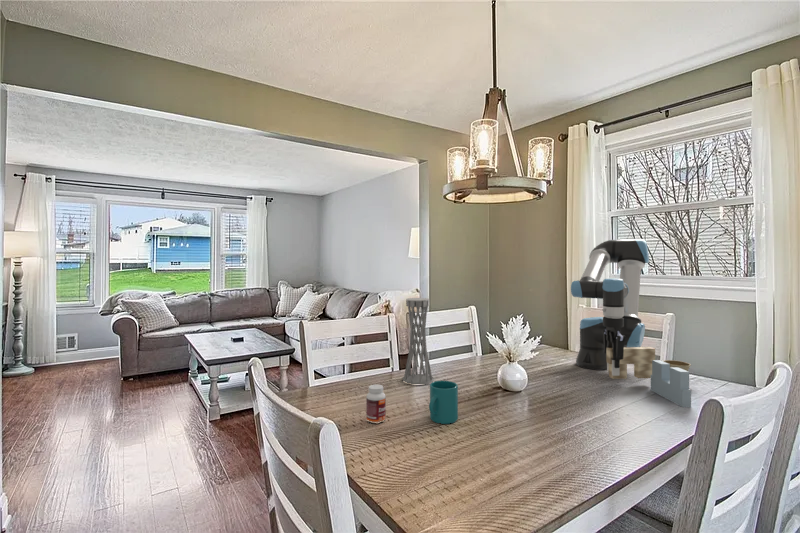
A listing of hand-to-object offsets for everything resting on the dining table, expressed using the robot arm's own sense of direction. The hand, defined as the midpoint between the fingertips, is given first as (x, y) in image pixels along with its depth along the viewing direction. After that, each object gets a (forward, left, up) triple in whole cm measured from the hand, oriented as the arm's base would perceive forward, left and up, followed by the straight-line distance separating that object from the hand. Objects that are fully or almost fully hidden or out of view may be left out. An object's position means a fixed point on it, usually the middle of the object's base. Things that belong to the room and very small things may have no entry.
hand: (613, 373), depth 164 cm
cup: (+36, -73, -5) cm, 82 cm away
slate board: (+16, +13, -5) cm, 20 cm away
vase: (-6, -79, -5) cm, 80 cm away
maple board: (0, +7, -1) cm, 7 cm away
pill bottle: (+36, -94, -5) cm, 101 cm away
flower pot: (-1, +27, -5) cm, 27 cm away
